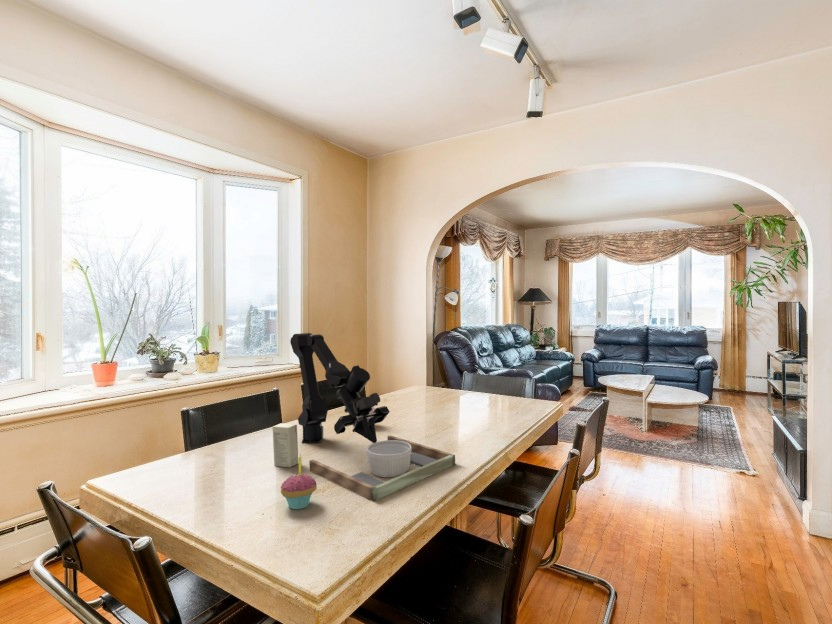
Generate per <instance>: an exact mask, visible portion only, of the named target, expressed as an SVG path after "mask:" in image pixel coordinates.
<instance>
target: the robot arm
mask: <svg viewBox="0 0 832 624" xmlns="http://www.w3.org/2000/svg"><path fill="white" fill-rule="evenodd" d="M289 342H290V346H291V349H292V352H293V354H294V355H295V356H296V357H297V358H298V362H299V367H300V368H299V369H300V373H301V379H302V385H303V390H304V400H303V402H302V406H301V407H302V410H301V411H302V412H301V413H300V415H299V416H298V417H297V422H298V425H300V426H302V440H301V443H303V444H304V443H309V444H311V443H320V442H321V441H322V439H324V426H323V423H326V422H327V416H328V409H329V408H328V405H327V399H326V397H322V396H321V395H320V392H319V391H320V390H319V386H318V379H317V375H316V370H315V369H316V368H315V363H314V357H313V355H314V354H315V355H316V357H317V358H318V360H319V361H320V364H321V365H322V367H323V368H324V370H325V374H324V378H325V380H326V382H327V383H328V385H329V387H330V388H339V387H340V388H339V389H337V390H336V394H335V399H337V400H338V399H340V400H341V402H342V404H343V406H344V410H343V411H344V413H345V414H346V415H343V416H339V418H338V419H337V421H336V422H335V424H334V426H333V428H334V432H335V434H336V435H339V434H344V433H345V431H346V429H347V428H346V427H349V426H352V427H353V428H352V432H353V433H356V434H358V435H360V436H362V437H363V438H365V439H367V440H368V441H370V442H371V444H373V443H376V442H378V440H377V433H376V425H375V424H379V423H382V422H383V421H384V420H385V418H387V416H388V415H389V414H390V412H391V411H390V410H389V408H388V406H386V405H384V406H379V403H380V402H381V396H380V395H379V394H378V392H374V393H371V394H370V395H368V396H362V397H361V395H360V394H359V393H361V391H362V390H363V389H364V388H365V387H366V385H367V384H368V382H369V381H370V379H371V375H370V373H369V371H367V370H366V369H365V368H362V367H360V366H359V365H353V366H352V368H351V370H349V368H348V367H347V366H346V365H345V364H343V363H341V362H339V361H338V360H337V358H336V357H335V355H334V353H333V352H332V350H331V349H330V347H329V346H328V345H327V343H326V341H325V338H324V336H323V334H319V333H318V334H313V333H310V332H304V333H294V334H293V335H292V337H290V341H289ZM376 406H378V407H376ZM372 407H375V411H374V412H373V413H371V414H370V413H369V412H370V411H371V410H372ZM347 413H348V414H347Z"/></svg>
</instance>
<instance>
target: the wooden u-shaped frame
mask: <svg viewBox="0 0 832 624" xmlns="http://www.w3.org/2000/svg"><path fill="white" fill-rule="evenodd" d="M386 439H387V440H398V441H404V442H407V443H409V444H410V445H411V448H412V451H411V453H412V452H413V453H414V452H415V453H418V454H421V455H424V456H427V457H430V458H433V459H436V461H434V462H432V463H429V464H427V465H424V466H422V467H420V466H419V467H418V468H415V469H413V470H410V471H407V472H406V473H404V474H402V475H400V476H396V477H392V478H391V479H388V480H386V481H383V482H384V483H381V484H379V485H376V486H372V485H369V484H367V483H365V482H363V481H360V480H358V479H356V478H354V477H351V476H352V475H349V474H347V473H344V472H342V471H340V470H338V469H335V468H333V467H331V466H329V465H326V464H324V463H323V462H319V461H318V460H315V459H310V460H309V472H311V473H314V474H316V475H318V476H320V477H322V478H324V479H326V480H328V481H330V482H332V483H334V484H337V485H338V486H340V487H343V488H345V489H347V490H349V491H351V492H353V493H355V494H357V495H358V496H359V495H360V496H361V497H363V498H365V499H367V500H370V501H372V502H375V501H378V500H379V499H382V498H384V497H387V496H389V495H391V494H393V493H395V491H396V492H398V491H400V490H403V489H404V487H405V488H407V487H408V486H412V485H414V484H416V483H418V482H420V481H422V480H424V478H425V479H426V477H427V478H428V476H429V477H431V476H433V475H436V474H437V472H438V473H440V472H442V471H444V469H445V470H447V469H449V468H451V467H453V466H455V465H456V455H455V454H453V453H451V452H447V451H443V450H440V449H436V448H433V447H430V446H428V445H427V446H426V445H424V444H421V443H417V442H413V441H412V440H411V441H410V440H406V439H403V438H400V437H396V436H394V435H391V434H389V435H387V438H386ZM435 473H436V474H435ZM419 480H420V481H419ZM417 481H418V482H417ZM415 482H416V483H415ZM406 486H407V487H406ZM399 489H400V490H399Z"/></svg>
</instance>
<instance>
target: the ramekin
mask: <svg viewBox="0 0 832 624" xmlns="http://www.w3.org/2000/svg"><path fill="white" fill-rule="evenodd" d="M411 451H412V448H411V445H410V444H409V443H407V442H404V441H398V440H379V441H377V442H376V443H371V444H369V445H368V446H367V447H366V454H367V458H368V465H369V469H370V471H371V472H372V474H373V475H374V476H378V477H382V478H396V477H398V476H400V475H403V474H405V473H408V471H409V469H410V467H411V466H410V465H411V463H410V456H411V453H412V452H411Z"/></svg>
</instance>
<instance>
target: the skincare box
mask: <svg viewBox="0 0 832 624" xmlns="http://www.w3.org/2000/svg"><path fill="white" fill-rule="evenodd" d="M272 443H273V446H272V447H273V465H274V466H276V467H283V468H284V467H285V468H292V467H294V466H295V465H297V464H299V442H298V424H297V423H287V422H286V423H284V422H281V423H278V424H276V425H273V426H272Z"/></svg>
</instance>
